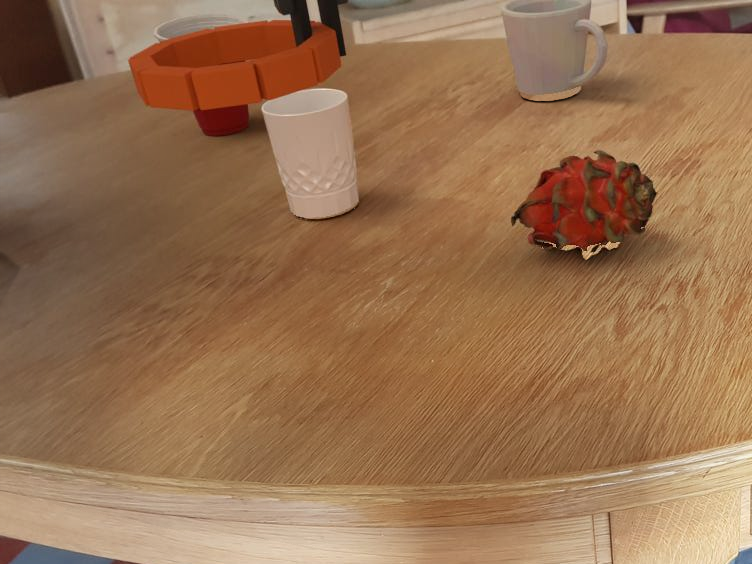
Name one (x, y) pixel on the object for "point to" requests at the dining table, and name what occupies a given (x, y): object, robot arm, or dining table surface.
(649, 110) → the dining table surface
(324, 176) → the white cup
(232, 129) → the plastic cup
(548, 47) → the mug
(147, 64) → the ring
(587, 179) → the dragon fruit
